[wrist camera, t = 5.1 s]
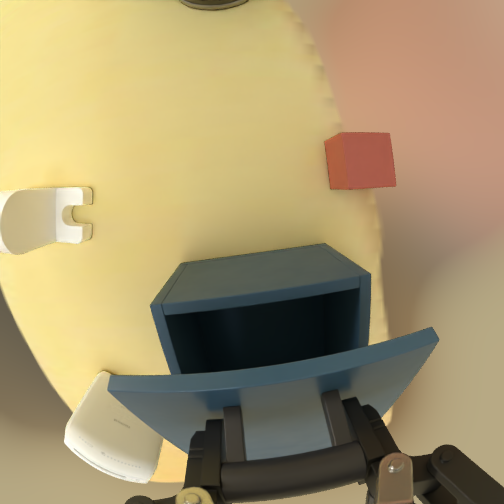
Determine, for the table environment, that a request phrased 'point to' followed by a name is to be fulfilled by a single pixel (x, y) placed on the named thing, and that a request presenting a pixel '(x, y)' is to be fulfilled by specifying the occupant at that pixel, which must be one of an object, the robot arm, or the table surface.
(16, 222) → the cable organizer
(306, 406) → the freezer lid
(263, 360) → the box
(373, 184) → the block
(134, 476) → the photo printer
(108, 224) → the table surface
